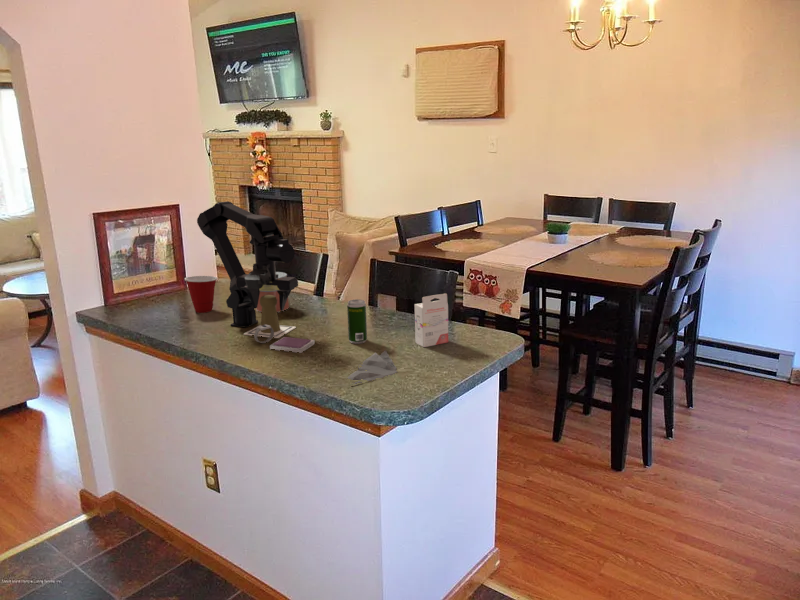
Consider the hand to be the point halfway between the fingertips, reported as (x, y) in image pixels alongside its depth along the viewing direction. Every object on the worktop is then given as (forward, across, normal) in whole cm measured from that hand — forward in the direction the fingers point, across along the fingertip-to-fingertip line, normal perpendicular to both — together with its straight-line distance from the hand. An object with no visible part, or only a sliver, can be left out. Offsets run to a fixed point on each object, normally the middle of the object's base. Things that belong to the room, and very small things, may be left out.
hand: (268, 309), depth 192 cm
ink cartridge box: (+7, +51, +4) cm, 52 cm away
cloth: (+8, +43, -20) cm, 48 cm away
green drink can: (+7, +30, -1) cm, 31 cm away
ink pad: (+7, +14, -11) cm, 19 cm away
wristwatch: (+7, +4, -10) cm, 13 cm away
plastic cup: (+7, -35, +14) cm, 38 cm away
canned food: (+7, -13, +23) cm, 27 cm away
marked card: (+7, 0, 0) cm, 7 cm away
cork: (+7, 0, 0) cm, 7 cm away
